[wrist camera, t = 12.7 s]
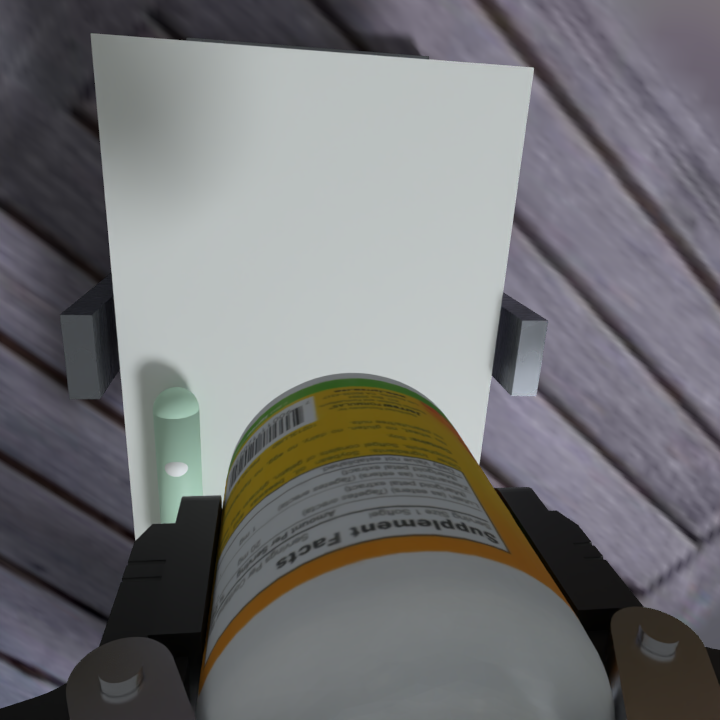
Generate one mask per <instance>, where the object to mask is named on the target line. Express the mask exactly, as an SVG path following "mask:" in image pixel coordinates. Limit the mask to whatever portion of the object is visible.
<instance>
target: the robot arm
mask: <svg viewBox="0 0 720 720" xmlns="http://www.w3.org/2000/svg"><path fill="white" fill-rule="evenodd" d="M494 489H495V491H496V492H497V494H498V495H499V497H500V499H501V500H502V502H503V503H504V504H505V506H506V507H507V509H508V510H509V512H510V513H511V515H512V517H513V519H514V520H515V522H516V524H517V525H518V527H519V528H520V530H521V531H522V533H523V534H524V536H525V537H526V539H527V541H528V542H529V544H530V545H531V547H532V548H533V550H534V551H535V553H536V554H537V556H538V558H539V559H540V561H541V562H542V564H543V565H544V567H545V568H546V570H547V571H548V573H549V574H550V576H551V577H552V579H553V581H554V582H555V584H556V585H557V587H558V588H559V590H560V591H561V593H562V594H563V596H564V597H565V599H566V600H567V602H568V603H569V605H570V607H571V608H572V610H573V611H574V613H575V614H576V616H577V617H578V619H579V621H580V623H581V624H582V626H583V628H584V630H585V631H586V633H587V635H588V637H589V638H590V640H591V642H592V644H593V645H594V647H595V649H596V651H597V652H598V654H599V657H600V659H601V661H602V663H603V666H604V668H605V671H606V674H607V676H608V680H609V684H610V687H611V691H612V695H613V700H614V706H615V720H720V650H717V649H712V648H708V647H705V646H704V644H703V642H702V640H701V639H700V638H699V636H698V635H697V634H696V633H695V632H694V631H693V630H692V629H691V628H690V627H688V626H687V625H686V624H684V623H683V622H682V621H680V620H678V619H677V618H675V617H673V616H671V615H669V614H667V613H664V612H661V611H659V610H655V609H652V608H646V607H643V605H642V604H641V603H640V602H639V601H638V599H637V598H636V597H635V596H634V594H633V593H632V592H631V591H630V589H629V588H628V587H627V586H626V584H625V583H624V582H623V581H622V579H621V578H620V577H619V576H618V574H617V573H616V572H615V571H614V569H613V568H612V567H611V566H610V564H609V563H608V562H607V561H606V560H603V556H602V554H601V553H600V552H599V551H598V549H597V548H596V547H595V546H592V542H591V541H590V540H589V538H588V537H587V536H586V535H585V533H584V532H583V531H582V530H581V528H580V527H579V526H578V525H577V524H576V523H574V522H573V521H571V520H570V519H568V518H567V517H565V516H564V515H562V514H561V513H559V512H558V511H548V510H547V508H546V507H545V506H544V504H543V503H542V502H541V500H540V499H539V498H538V496H537V495H536V494H535V492H534V491H533V490H532V489H531V488H529V487H515V488H494ZM221 515H222V498H221V495H211V496H183V497H182V498H181V502H180V506H179V510H178V514H177V518H176V522H175V523H163V524H152V525H151V526H150V527H149V528H148V529H147V530H146V531H145V532H144V533H143V534H142V535H141V536H140V537H139V538H138V539H137V540H136V541H135V542H134V545H133V548H132V551H131V554H130V557H129V560H128V565H127V566H126V569H125V572H124V575H123V578H122V582H121V584H120V587H119V590H118V593H117V596H116V598H115V601H114V604H113V607H112V610H111V613H110V616H109V619H108V622H107V625H106V628H105V631H104V634H103V637H102V640H101V643H100V646H99V647H98V648H96V649H95V650H93V651H92V652H90V653H89V654H87V655H86V656H85V657H84V658H83V659H82V660H81V661H80V662H79V663H78V664H77V665H76V666H75V668H74V669H73V671H72V672H71V674H70V676H69V679H68V681H67V683H66V684H64V685H62V686H61V687H59V688H57V689H55V690H53V691H51V692H49V693H46V694H43V695H41V696H38V697H35V698H32V699H29V700H26V701H23V702H20V703H17V704H13V705H10V706H7V707H4V708H1V709H0V720H196V718H195V715H196V706H197V698H198V689H199V681H200V673H201V666H202V659H203V651H204V643H205V637H206V629H207V622H208V614H209V607H210V599H211V592H212V584H213V577H214V570H215V562H216V554H217V547H218V539H219V531H220V524H221Z"/></svg>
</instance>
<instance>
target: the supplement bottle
mask: <svg viewBox="0 0 720 720" xmlns="http://www.w3.org/2000/svg"><path fill="white" fill-rule="evenodd" d="M195 718H196V720H615V706H614V700H613V695H612V691H611V687H610V684H609V680H608V676H607V674H606V671H605V668H604V666H603V663H602V661H601V659H600V657H599V654H598V652H597V651H596V649H595V647H594V645H593V644H592V642H591V640H590V638H589V637H588V635H587V633H586V631H585V630H584V628H583V626H582V624H581V623H580V621H579V619H578V617H577V616H576V614H575V613H574V611H573V610H572V608H571V607H570V605H569V603H568V602H567V600H566V599H565V597H564V596H563V594H562V593H561V591H560V590H559V588H558V587H557V585H556V584H555V582H554V581H553V579H552V577H551V576H550V574H549V573H548V571H547V570H546V568H545V567H544V565H543V564H542V562H541V561H540V559H539V558H538V556H537V554H536V553H535V551H534V550H533V548H532V547H531V545H530V544H529V542H528V541H527V539H526V537H525V536H524V534H523V533H522V531H521V530H520V528H519V527H518V525H517V524H516V522H515V520H514V519H513V517H512V515H511V513H510V512H509V510H508V509H507V507H506V506H505V504H504V503H503V502H502V500H501V499H500V497H499V495H498V494H497V492H496V491H495V489H494V488H493V486H492V485H491V483H490V482H489V480H488V479H487V477H486V475H485V474H484V472H483V471H482V469H481V467H480V466H479V464H478V463H477V461H476V460H475V458H474V457H473V455H472V454H471V452H470V450H469V449H468V447H467V446H466V444H465V443H464V441H463V440H462V438H461V437H460V435H459V434H458V432H457V431H456V429H455V428H454V426H453V425H452V424H451V422H450V421H449V420H448V418H447V417H446V416H445V415H444V413H443V412H442V411H441V410H440V409H439V408H438V407H437V406H436V405H435V404H434V403H433V402H432V401H431V400H430V399H428V398H427V397H426V396H425V395H423V394H422V393H420V392H419V391H417V390H416V389H414V388H412V387H410V386H408V385H406V384H403V383H401V382H399V381H396V380H393V379H390V378H387V377H382V376H378V375H373V374H365V373H340V374H332V375H327V376H322V377H319V378H315V379H312V380H309V381H306V382H304V383H302V384H300V385H297V386H295V387H293V388H291V389H289V390H288V391H286V392H284V393H282V394H281V395H279V396H278V397H276V398H275V399H274V400H272V401H271V402H270V403H268V404H267V405H266V406H265V407H264V408H263V409H262V410H261V411H260V412H259V413H258V414H257V415H256V416H255V417H254V418H253V420H252V421H251V422H250V423H249V425H248V426H247V427H246V429H245V430H244V432H243V433H242V435H241V437H240V439H239V441H238V443H237V445H236V447H235V450H234V452H233V455H232V458H231V462H230V465H229V470H228V474H227V479H226V486H225V493H224V500H223V507H222V515H221V524H220V531H219V539H218V547H217V554H216V562H215V570H214V577H213V584H212V592H211V599H210V607H209V614H208V622H207V629H206V637H205V643H204V651H203V659H202V666H201V673H200V681H199V689H198V698H197V706H196V715H195Z"/></svg>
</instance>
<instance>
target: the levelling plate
mask: <svg viewBox="0 0 720 720" xmlns="http://www.w3.org/2000/svg"><path fill="white" fill-rule="evenodd" d="M90 34H91V45H92V56H93V68H94V79H95V90H96V101H97V113H98V124H99V135H100V147H101V158H102V169H103V181H104V192H105V203H106V214H107V226H108V237H109V248H110V260H111V271H112V282H113V293H114V305H115V316H116V327H117V339H118V350H119V361H120V373H121V384H122V395H123V406H124V418H125V429H126V440H127V452H128V463H129V474H130V485H131V497H132V508H133V519H134V531H135V541H136V540H137V539H138V538H139V537H140V536H141V535H142V534H143V533H144V532H145V531H146V530H147V529H148V528H149V527H150V526H151V525H152V524H163V523H175V522H176V518H177V514H178V510H179V506H180V502H181V498H182V497H183V496H211V495H221V498H222V507H223V500H224V493H225V486H226V479H227V474H228V470H229V465H230V462H231V458H232V455H233V452H234V450H235V447H236V445H237V443H238V441H239V439H240V437H241V435H242V433H243V432H244V430H245V429H246V427H247V426H248V425H249V423H250V422H251V421H252V420H253V418H254V417H255V416H256V415H257V414H258V413H259V412H260V411H261V410H262V409H263V408H264V407H265V406H266V405H267V404H268V403H270V402H271V401H272V400H274V399H275V398H276V397H278V396H279V395H281V394H282V393H284V392H286V391H288V390H289V389H291V388H293V387H295V386H297V385H300V384H302V383H304V382H306V381H309V380H312V379H315V378H319V377H322V376H327V375H332V374H340V373H365V374H373V375H378V376H382V377H387V378H390V379H393V380H396V381H399V382H401V383H403V384H406V385H408V386H410V387H412V388H414V389H416V390H417V391H419V392H420V393H422V394H423V395H425V396H426V397H427V398H428V399H430V400H431V401H432V402H433V403H434V404H435V405H436V406H437V407H438V408H439V409H440V410H441V411H442V412H443V413H444V415H445V416H446V417H447V418H448V420H449V421H450V422H451V424H452V425H453V426H454V428H455V429H456V431H457V432H458V434H459V435H460V437H461V438H462V440H463V441H464V443H465V444H466V446H467V447H468V449H469V450H470V452H471V454H472V455H473V457H474V458H475V460H476V461H477V463H478V464H479V463H480V455H481V448H482V441H483V434H484V426H485V419H486V412H487V405H488V397H489V390H490V383H491V376H492V368H493V361H494V354H495V347H496V339H497V332H498V325H499V318H500V311H501V303H502V296H503V289H504V282H505V274H506V267H507V260H508V253H509V245H510V238H511V231H512V224H513V216H514V209H515V202H516V195H517V188H518V180H519V173H520V166H521V159H522V151H523V144H524V137H525V130H526V122H527V115H528V108H529V101H530V93H531V86H532V79H533V72H534V68H531V67H518V66H506V65H493V64H480V63H467V62H454V61H441V60H428V59H416V58H403V57H390V56H377V55H364V54H351V53H338V52H326V51H313V50H300V49H287V48H274V47H261V46H248V45H236V44H223V43H210V42H197V41H184V40H171V39H158V38H145V37H133V36H120V35H107V34H94V33H90Z"/></svg>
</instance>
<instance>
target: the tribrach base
mask: <svg viewBox="0 0 720 720" xmlns="http://www.w3.org/2000/svg"><path fill="white" fill-rule="evenodd" d="M187 41H197V42H210V43H223V44H236V45H248V46H261V47H274V48H287V49H300V50H313V51H326V52H338V53H351V54H364V55H377V56H390V57H403V58H416V59H428V60H429V56H417V55H404V54H391V53H378V52H366V51H353V50H340V49H328V48H315V47H302V46H289V45H277V44H264V43H251V42H238V41H226V40H213V39H200V38H187ZM60 321H61V330H62V338H63V347H64V356H65V364H66V373H67V382H68V391H69V399H100V398H101V397H102V395H103V394H104V392H105V391H106V389H107V388H108V386H109V385H110V383H111V382H112V380H113V379H114V377H115V376H116V374H117V373H118V371H119V370H120V361H119V350H118V339H117V327H116V316H115V305H114V293H113V282H112V273H111V274H109V275H108V276H107V277H106V278H104V279H103V280H102V281H101V282H100V283H98V284H97V285H96V286H95V287H93V288H92V289H91V290H90V291H88V292H87V293H86V294H85V295H84V296H82V297H81V298H80V299H79V300H77V301H76V302H75V303H74V304H73V305H71V306H70V307H69V308H68V309H66V310H65V311H64V312H63V313H62V314H60ZM547 325H548V320H546V319H544V318H543V317H541V316H540V315H538V314H536V313H535V312H533V311H532V310H530V309H529V308H527V307H525V306H524V305H522V304H521V303H519V302H518V301H516V300H514V299H513V298H511V297H510V296H508V295H507V294H505V293H503V296H502V303H501V311H500V318H499V325H498V332H497V339H496V347H495V354H494V361H493V368H492V376H493V377H494V378H495V379H496V380H497V381H498V382H499V383H500V384H501V385H502V387H503V388H504V389H505V390H506V391H507V392H508V393H509V394H510V395H511V396H536V394H537V388H538V382H539V375H540V369H541V363H542V357H543V350H544V344H545V338H546V331H547Z"/></svg>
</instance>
